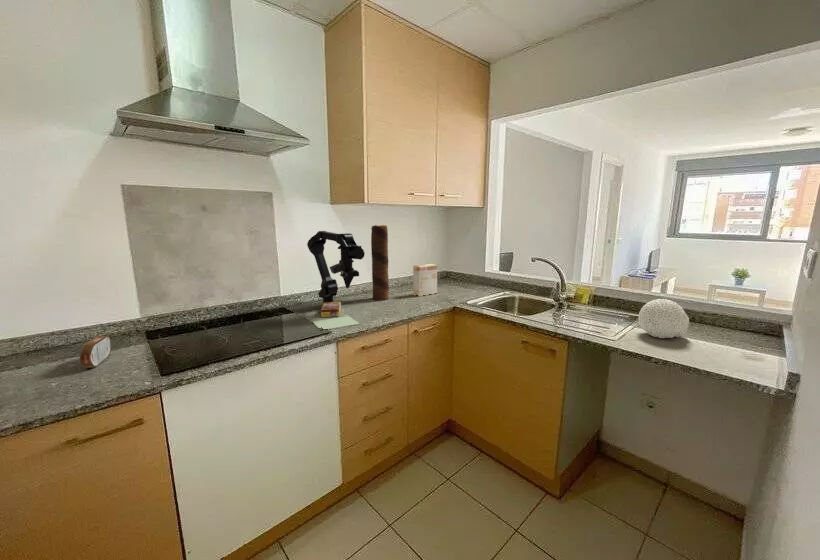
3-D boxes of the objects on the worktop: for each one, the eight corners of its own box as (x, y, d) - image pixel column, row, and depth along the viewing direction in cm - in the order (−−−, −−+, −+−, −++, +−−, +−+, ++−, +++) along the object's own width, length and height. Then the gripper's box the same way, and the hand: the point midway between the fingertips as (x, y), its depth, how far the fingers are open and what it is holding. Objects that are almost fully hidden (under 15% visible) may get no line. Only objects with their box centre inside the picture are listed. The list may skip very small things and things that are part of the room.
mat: (312, 322, 154) (312, 321, 154) (348, 316, 163) (348, 316, 163) (321, 330, 143) (321, 330, 142) (359, 324, 152) (359, 323, 152)
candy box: (320, 308, 162) (324, 302, 177) (321, 317, 163) (324, 309, 177) (339, 308, 163) (340, 301, 178) (339, 316, 164) (341, 309, 179)
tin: (103, 355, 116) (99, 332, 115) (114, 353, 117) (111, 331, 116) (80, 373, 102) (76, 347, 101) (93, 371, 104) (89, 346, 102)
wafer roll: (375, 301, 195) (374, 225, 187) (370, 297, 204) (368, 225, 196) (391, 300, 199) (391, 225, 191) (385, 296, 208) (385, 225, 201)
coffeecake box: (430, 292, 222) (431, 263, 219) (437, 294, 216) (437, 264, 213) (412, 294, 214) (412, 265, 210) (419, 296, 208) (419, 266, 205)
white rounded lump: (687, 327, 122) (672, 288, 130) (635, 337, 134) (624, 301, 142) (702, 340, 133) (687, 304, 141) (653, 349, 145) (642, 315, 153)
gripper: (325, 257, 171) (326, 286, 174) (337, 260, 155) (338, 293, 158) (345, 256, 177) (346, 284, 179) (359, 259, 161) (359, 290, 164)
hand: (347, 288), depth 170 cm, fingers closed
